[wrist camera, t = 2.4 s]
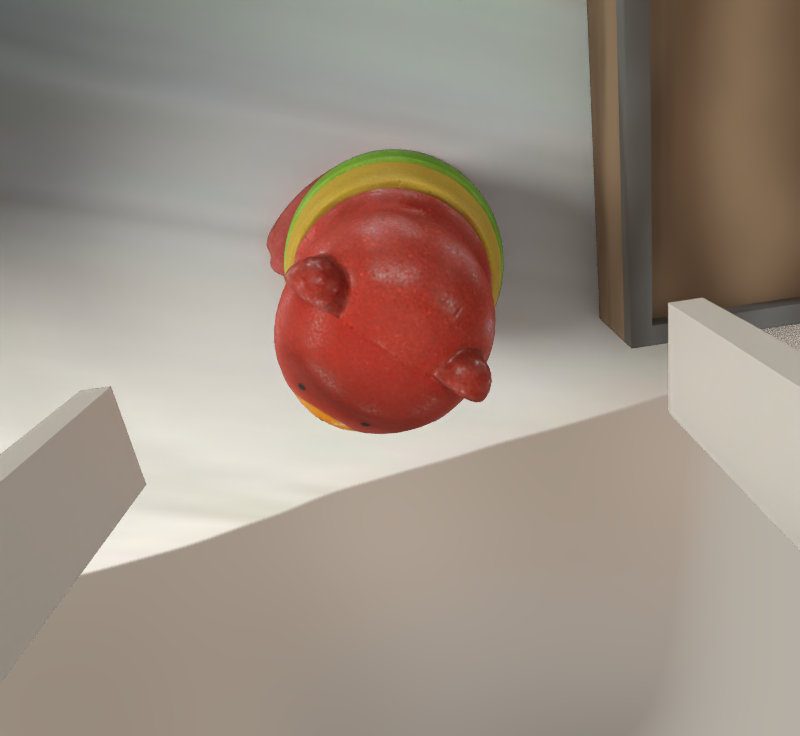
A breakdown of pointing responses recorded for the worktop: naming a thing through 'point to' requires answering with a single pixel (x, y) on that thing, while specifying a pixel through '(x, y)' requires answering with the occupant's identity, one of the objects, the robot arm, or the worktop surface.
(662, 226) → the square tray
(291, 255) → the stacking bear
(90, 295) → the worktop surface
